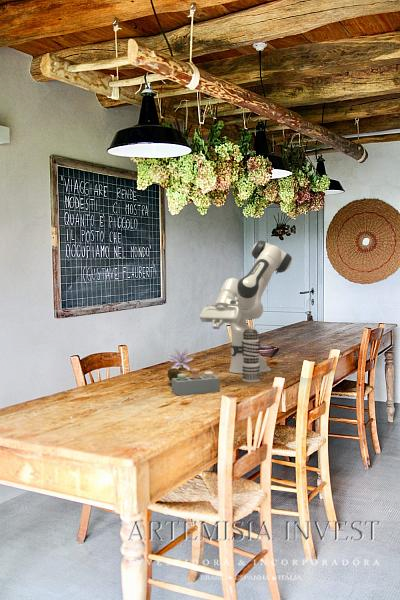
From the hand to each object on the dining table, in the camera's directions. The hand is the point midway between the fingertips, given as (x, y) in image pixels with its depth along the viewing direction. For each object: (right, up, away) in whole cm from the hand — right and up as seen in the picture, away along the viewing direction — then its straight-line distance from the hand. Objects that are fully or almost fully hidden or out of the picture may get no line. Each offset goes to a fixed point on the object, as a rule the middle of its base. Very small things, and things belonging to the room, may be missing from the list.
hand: (215, 328), depth 290 cm
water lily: (-18, -25, +46) cm, 56 cm away
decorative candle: (+18, -26, +13) cm, 35 cm away
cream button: (-3, -27, -8) cm, 28 cm away
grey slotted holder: (-9, -28, -10) cm, 32 cm away
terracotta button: (-9, -25, -11) cm, 29 cm away
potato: (-19, -27, +8) cm, 34 cm away
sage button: (-15, -27, -13) cm, 34 cm away
